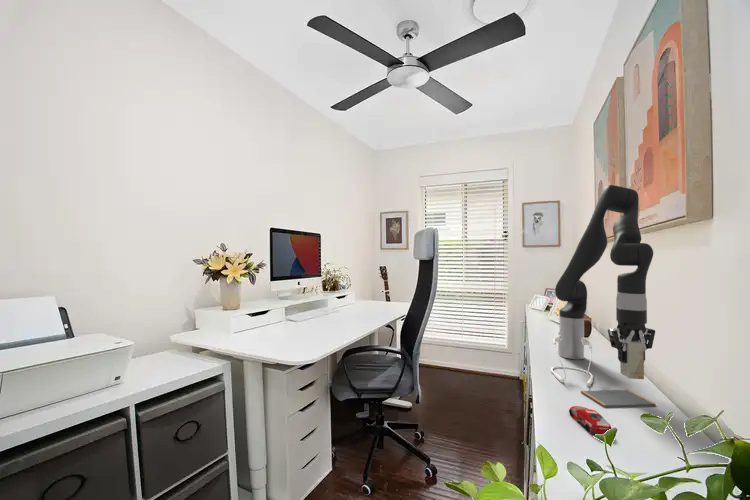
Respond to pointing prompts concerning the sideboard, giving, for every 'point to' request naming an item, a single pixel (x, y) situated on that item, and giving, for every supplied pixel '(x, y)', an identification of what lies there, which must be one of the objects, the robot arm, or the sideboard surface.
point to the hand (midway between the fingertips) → (631, 362)
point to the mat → (617, 398)
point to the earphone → (584, 342)
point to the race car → (590, 419)
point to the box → (633, 361)
